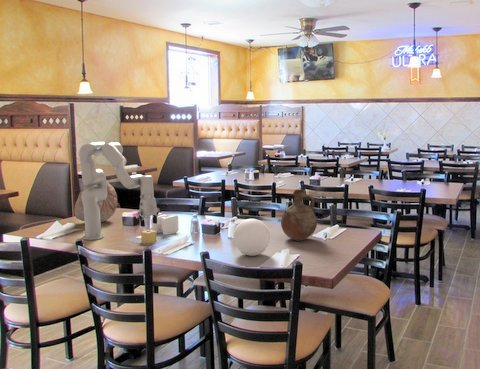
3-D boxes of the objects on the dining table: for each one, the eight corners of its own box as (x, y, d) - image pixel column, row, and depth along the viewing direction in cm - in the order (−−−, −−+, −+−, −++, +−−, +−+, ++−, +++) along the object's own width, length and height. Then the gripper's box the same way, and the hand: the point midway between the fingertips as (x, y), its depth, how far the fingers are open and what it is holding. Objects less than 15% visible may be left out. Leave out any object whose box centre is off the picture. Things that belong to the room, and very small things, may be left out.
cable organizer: (163, 237, 320) (163, 219, 319) (151, 235, 326) (150, 217, 324) (178, 232, 333) (178, 214, 331) (166, 230, 338) (165, 213, 337)
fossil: (115, 217, 383) (113, 177, 379) (122, 224, 360) (120, 181, 356) (72, 221, 371) (69, 180, 367) (76, 228, 347) (73, 185, 343)
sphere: (253, 248, 292) (252, 213, 289) (278, 255, 277) (278, 219, 274) (226, 255, 279) (225, 219, 276) (250, 262, 264) (250, 224, 261)
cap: (141, 242, 304) (140, 231, 303) (149, 239, 309) (148, 229, 308) (148, 243, 301) (148, 232, 300) (156, 241, 306) (156, 230, 305)
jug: (279, 235, 321) (279, 188, 317) (313, 234, 321) (314, 187, 317) (282, 244, 299) (282, 193, 295) (319, 243, 300) (319, 193, 295)
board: (123, 241, 310) (123, 233, 309) (145, 236, 324) (145, 227, 323) (148, 247, 297) (148, 238, 296) (170, 240, 311) (170, 232, 310)
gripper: (140, 199, 292) (142, 228, 294) (162, 194, 306) (163, 222, 308) (131, 198, 297) (133, 226, 299) (153, 193, 310) (155, 221, 312)
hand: (148, 224), depth 303 cm, fingers open, 9 cm apart
